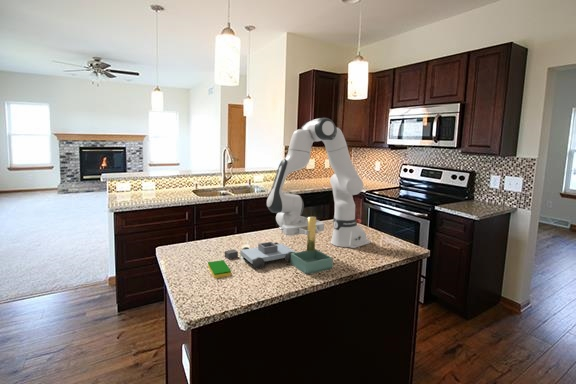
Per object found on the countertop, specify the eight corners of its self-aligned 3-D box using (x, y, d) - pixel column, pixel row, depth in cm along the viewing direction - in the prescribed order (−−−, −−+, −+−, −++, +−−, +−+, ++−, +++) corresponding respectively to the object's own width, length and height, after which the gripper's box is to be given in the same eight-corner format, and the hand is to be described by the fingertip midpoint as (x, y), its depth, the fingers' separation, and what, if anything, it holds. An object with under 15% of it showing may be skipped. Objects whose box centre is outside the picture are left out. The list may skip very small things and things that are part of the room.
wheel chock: (234, 255, 159) (233, 249, 159) (237, 257, 156) (237, 251, 156) (224, 257, 156) (224, 251, 156) (228, 259, 153) (228, 253, 153)
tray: (315, 259, 155) (315, 248, 154) (332, 268, 143) (332, 258, 142) (290, 263, 148) (290, 253, 147) (306, 274, 136) (306, 263, 136)
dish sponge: (223, 264, 147) (223, 259, 147) (231, 276, 135) (231, 271, 135) (207, 267, 144) (207, 262, 144) (214, 279, 132) (214, 273, 132)
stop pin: (312, 248, 147) (313, 216, 144) (316, 250, 144) (317, 217, 141) (305, 249, 145) (306, 216, 143) (309, 252, 142) (310, 218, 140)
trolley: (280, 251, 165) (280, 236, 164) (296, 261, 151) (296, 246, 150) (239, 258, 155) (239, 243, 154) (252, 270, 140) (252, 253, 139)
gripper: (277, 220, 149) (292, 227, 137) (314, 216, 159) (331, 223, 147) (277, 233, 150) (291, 242, 138) (314, 229, 159) (330, 236, 148)
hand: (312, 232), depth 142 cm, fingers closed on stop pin, 4 cm apart
